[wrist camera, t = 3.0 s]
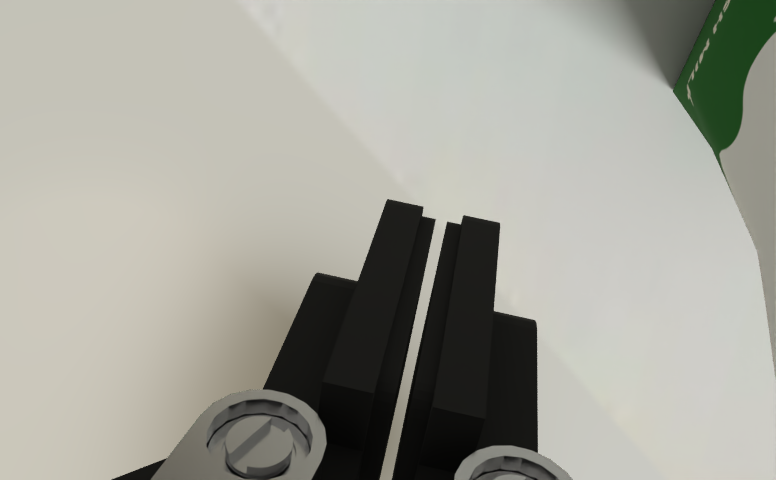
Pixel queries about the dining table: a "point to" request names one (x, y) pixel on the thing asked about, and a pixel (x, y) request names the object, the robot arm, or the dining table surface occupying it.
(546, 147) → the dining table surface
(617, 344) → the dining table surface
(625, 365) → the dining table surface
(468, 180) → the dining table surface
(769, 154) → the white and green box
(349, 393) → the robot arm
